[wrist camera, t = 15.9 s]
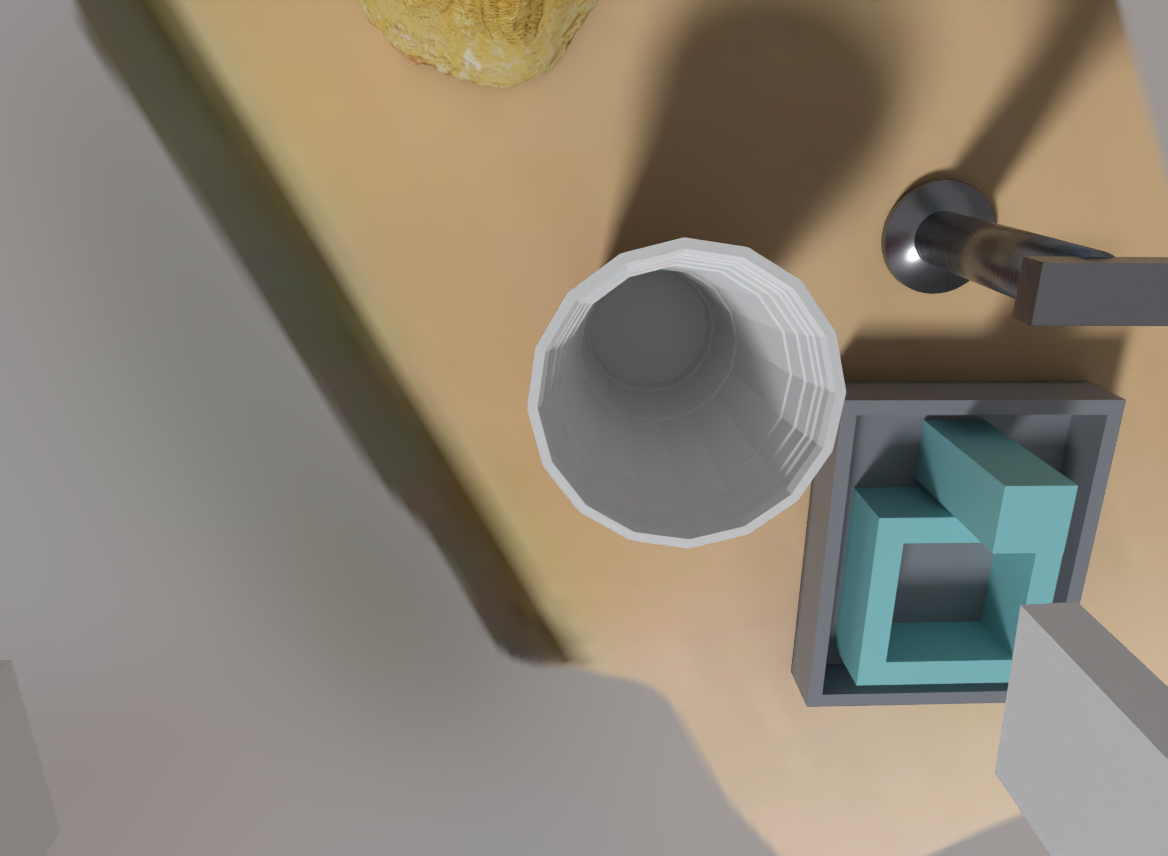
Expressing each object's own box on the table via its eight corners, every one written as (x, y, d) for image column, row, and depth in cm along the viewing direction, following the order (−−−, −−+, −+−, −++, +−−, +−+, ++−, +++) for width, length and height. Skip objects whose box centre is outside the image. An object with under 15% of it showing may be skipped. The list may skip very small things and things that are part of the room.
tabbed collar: (862, 420, 43) (931, 486, 36) (1044, 419, 44) (1150, 484, 36) (834, 645, 48) (890, 746, 40) (1000, 642, 48) (1087, 742, 41)
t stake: (888, 178, 40) (1048, 213, 28) (999, 180, 40) (1206, 214, 28) (875, 291, 42) (1020, 371, 29) (981, 291, 42) (1169, 370, 30)
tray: (822, 380, 43) (842, 400, 40) (1087, 380, 44) (1125, 399, 41) (790, 671, 49) (806, 706, 46) (1027, 667, 49) (1057, 701, 46)
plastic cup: (710, 158, 39) (782, 181, 28) (797, 374, 43) (891, 471, 32) (486, 267, 40) (469, 331, 29) (588, 468, 44) (608, 595, 33)
